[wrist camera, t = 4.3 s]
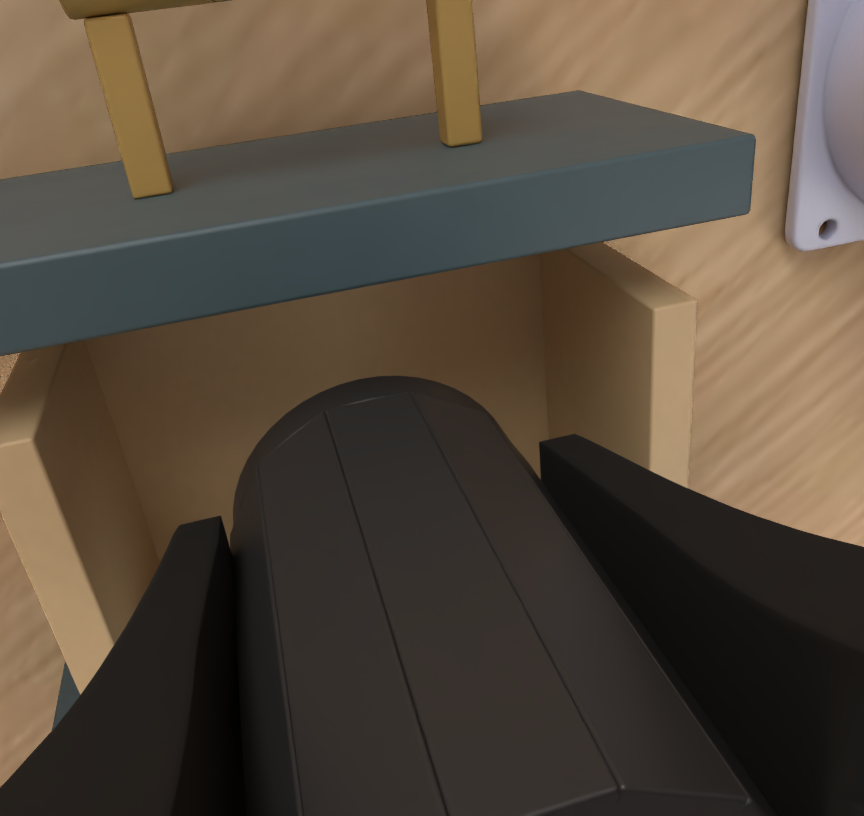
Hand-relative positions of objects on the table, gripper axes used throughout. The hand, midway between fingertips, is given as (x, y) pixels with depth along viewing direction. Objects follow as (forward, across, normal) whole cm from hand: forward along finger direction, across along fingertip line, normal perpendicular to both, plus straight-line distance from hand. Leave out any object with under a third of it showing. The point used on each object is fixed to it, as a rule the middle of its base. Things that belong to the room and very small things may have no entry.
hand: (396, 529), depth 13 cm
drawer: (+7, 0, -1) cm, 7 cm away
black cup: (+1, 0, 0) cm, 1 cm away
